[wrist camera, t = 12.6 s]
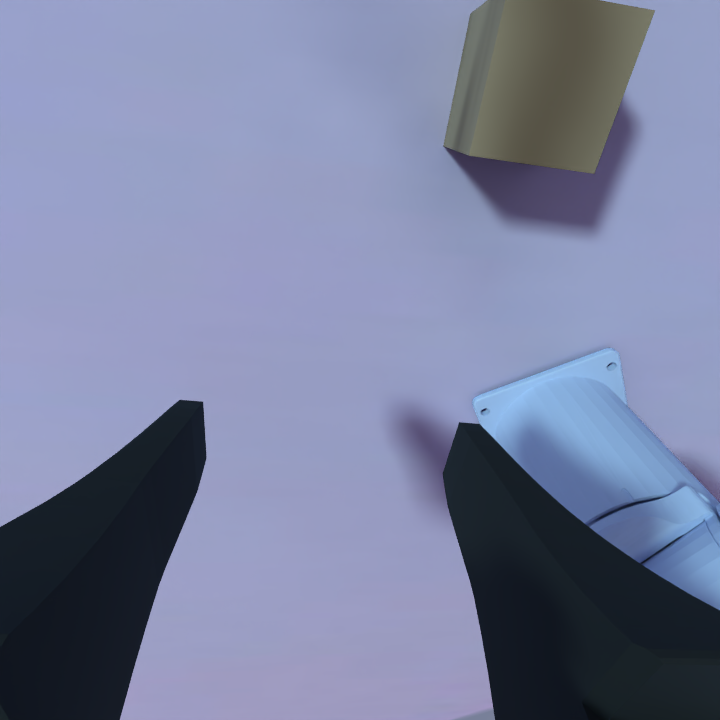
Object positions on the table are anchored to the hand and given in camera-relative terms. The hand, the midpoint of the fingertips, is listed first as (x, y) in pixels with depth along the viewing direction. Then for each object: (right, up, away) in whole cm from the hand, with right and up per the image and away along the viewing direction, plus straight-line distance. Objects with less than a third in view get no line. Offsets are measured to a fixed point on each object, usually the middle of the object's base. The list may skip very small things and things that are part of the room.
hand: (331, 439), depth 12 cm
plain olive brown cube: (+7, +13, +5) cm, 15 cm away
